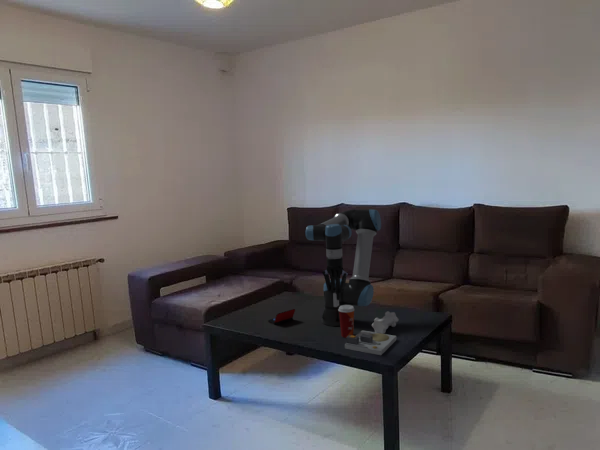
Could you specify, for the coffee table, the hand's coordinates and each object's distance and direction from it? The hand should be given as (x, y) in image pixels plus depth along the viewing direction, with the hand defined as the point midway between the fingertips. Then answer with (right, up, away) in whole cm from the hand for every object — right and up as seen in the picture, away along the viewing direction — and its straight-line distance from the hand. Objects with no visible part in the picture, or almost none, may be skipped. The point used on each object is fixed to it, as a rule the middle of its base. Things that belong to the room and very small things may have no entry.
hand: (336, 306), depth 216 cm
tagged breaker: (+8, -17, -2) cm, 19 cm away
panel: (+17, -18, +1) cm, 25 cm away
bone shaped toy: (+27, -16, +20) cm, 37 cm away
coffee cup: (+7, -18, +14) cm, 23 cm away
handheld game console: (-27, -16, +39) cm, 51 cm away
